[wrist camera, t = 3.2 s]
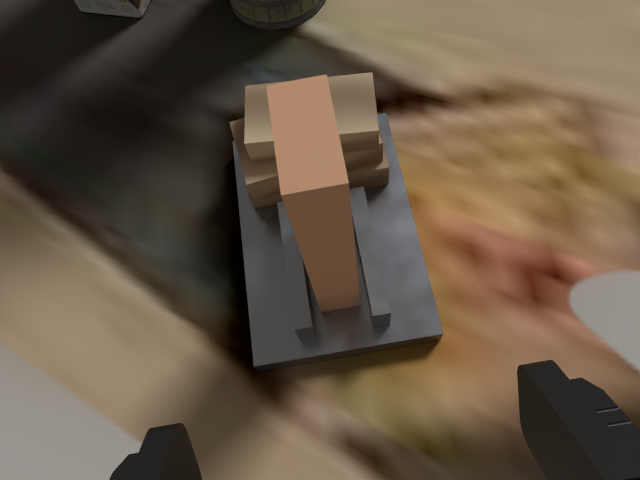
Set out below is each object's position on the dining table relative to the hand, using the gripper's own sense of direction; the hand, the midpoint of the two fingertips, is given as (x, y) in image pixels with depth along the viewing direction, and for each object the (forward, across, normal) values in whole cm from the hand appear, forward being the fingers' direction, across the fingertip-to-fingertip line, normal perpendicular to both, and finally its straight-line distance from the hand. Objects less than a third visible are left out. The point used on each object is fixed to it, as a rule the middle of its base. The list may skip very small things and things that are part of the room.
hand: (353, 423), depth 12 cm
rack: (+22, 0, +3) cm, 23 cm away
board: (+19, 0, +4) cm, 20 cm away
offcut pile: (+25, 0, -1) cm, 25 cm away
